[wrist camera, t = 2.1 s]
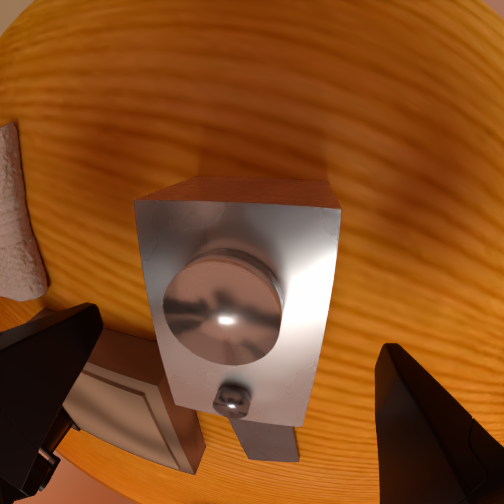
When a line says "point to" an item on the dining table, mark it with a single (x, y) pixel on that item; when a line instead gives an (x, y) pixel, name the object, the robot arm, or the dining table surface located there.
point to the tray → (133, 402)
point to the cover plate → (266, 440)
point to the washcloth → (16, 228)
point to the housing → (240, 290)
